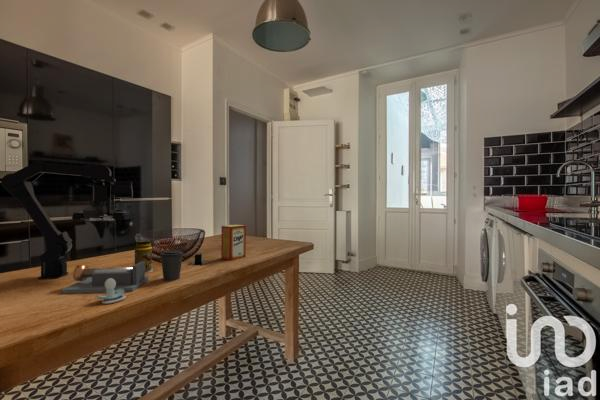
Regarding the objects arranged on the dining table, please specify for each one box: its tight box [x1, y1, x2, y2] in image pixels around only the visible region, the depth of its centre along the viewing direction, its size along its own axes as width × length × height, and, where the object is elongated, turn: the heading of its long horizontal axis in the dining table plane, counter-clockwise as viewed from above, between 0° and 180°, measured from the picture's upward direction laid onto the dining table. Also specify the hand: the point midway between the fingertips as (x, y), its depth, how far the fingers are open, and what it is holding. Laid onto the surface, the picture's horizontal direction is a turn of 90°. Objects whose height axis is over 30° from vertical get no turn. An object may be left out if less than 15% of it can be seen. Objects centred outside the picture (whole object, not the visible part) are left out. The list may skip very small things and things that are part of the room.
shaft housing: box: [61, 261, 149, 295], centre depth 96 cm, size 20×13×7 cm, turn 98°
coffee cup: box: [159, 249, 185, 282], centre depth 105 cm, size 8×8×10 cm
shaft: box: [72, 264, 132, 282], centre depth 96 cm, size 18×5×5 cm, turn 98°
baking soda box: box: [220, 224, 247, 261], centre depth 142 cm, size 10×6×16 cm
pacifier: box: [95, 278, 127, 305], centre depth 83 cm, size 7×6×6 cm
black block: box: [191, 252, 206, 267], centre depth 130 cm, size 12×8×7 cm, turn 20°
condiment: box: [134, 239, 154, 274], centre depth 115 cm, size 7×8×12 cm
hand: (102, 238), depth 113 cm, fingers closed
